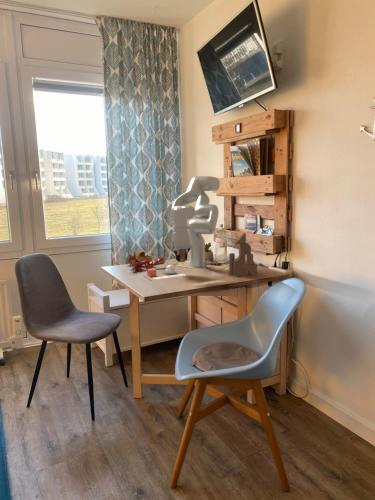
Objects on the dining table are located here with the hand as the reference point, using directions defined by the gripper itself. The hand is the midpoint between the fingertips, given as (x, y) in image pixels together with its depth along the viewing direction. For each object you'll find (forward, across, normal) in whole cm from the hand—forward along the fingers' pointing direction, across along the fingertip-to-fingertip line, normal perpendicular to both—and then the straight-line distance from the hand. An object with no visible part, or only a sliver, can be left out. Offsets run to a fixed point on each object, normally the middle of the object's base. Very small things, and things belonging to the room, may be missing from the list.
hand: (181, 260), depth 219 cm
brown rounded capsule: (+1, 0, 0) cm, 1 cm away
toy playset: (+11, +11, -32) cm, 35 cm away
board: (+9, +10, -2) cm, 14 cm away
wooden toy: (+11, -33, +14) cm, 37 cm away
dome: (+8, +5, -5) cm, 11 cm away
